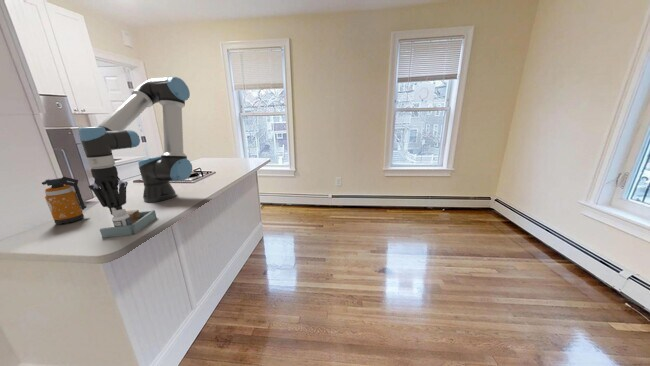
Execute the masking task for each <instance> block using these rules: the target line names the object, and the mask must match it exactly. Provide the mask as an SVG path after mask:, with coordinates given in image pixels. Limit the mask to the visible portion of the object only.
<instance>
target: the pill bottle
mask: <svg viewBox="0 0 650 366" xmlns="http://www.w3.org/2000/svg"><path fill="white" fill-rule="evenodd" d="M126 211H127V210H126V209H124V208H122V209H120V210H116V211H113V212H112V214H113V215H112V216H113V217H112V219H111V220H112V224H113V227H119V226H129V225H132V222H131V218H130V216H129V215H128V214H126Z"/></svg>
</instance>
